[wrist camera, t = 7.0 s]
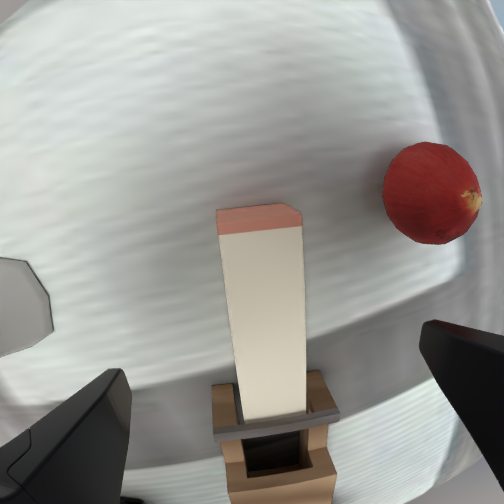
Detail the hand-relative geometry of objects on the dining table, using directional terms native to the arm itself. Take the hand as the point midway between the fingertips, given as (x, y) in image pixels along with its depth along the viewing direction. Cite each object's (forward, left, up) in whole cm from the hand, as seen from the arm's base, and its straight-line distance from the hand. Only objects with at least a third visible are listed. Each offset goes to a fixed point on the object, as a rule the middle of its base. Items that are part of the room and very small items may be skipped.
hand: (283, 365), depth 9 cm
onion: (+3, -11, -12) cm, 16 cm away
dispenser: (-16, -1, -12) cm, 20 cm away
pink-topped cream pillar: (-4, -1, -12) cm, 13 cm away
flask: (-2, +17, -12) cm, 21 cm away
